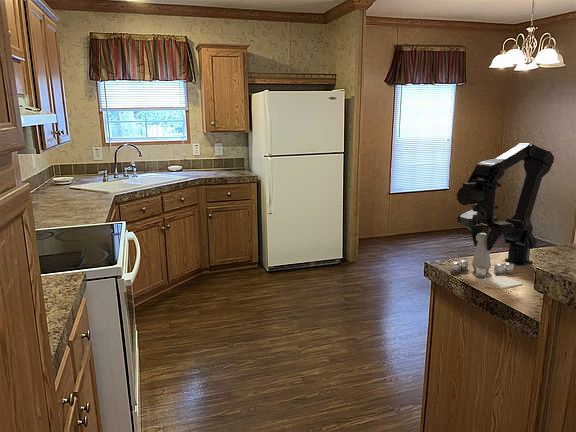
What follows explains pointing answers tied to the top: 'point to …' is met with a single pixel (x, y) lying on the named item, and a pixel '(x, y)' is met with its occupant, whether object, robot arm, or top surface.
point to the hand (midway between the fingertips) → (482, 248)
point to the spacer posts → (482, 268)
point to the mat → (501, 282)
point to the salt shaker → (481, 253)
